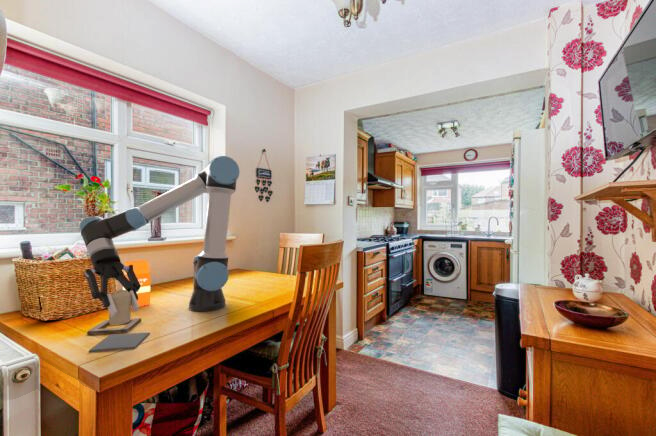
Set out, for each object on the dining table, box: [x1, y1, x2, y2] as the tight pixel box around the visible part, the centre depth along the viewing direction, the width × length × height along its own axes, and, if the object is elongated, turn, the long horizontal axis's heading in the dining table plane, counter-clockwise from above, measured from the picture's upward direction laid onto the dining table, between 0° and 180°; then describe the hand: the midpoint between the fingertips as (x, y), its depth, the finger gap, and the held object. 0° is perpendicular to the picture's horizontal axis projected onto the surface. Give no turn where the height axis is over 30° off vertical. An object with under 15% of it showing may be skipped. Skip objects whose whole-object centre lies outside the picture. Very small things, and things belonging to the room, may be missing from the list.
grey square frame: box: [86, 317, 142, 336], centre depth 108 cm, size 12×12×1 cm
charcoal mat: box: [88, 331, 150, 353], centre depth 95 cm, size 12×12×1 cm
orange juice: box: [122, 259, 151, 309], centre depth 138 cm, size 8×9×20 cm
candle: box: [108, 288, 132, 326], centre depth 95 cm, size 6×6×10 cm
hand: (125, 311), depth 93 cm, fingers closed on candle, 5 cm apart
